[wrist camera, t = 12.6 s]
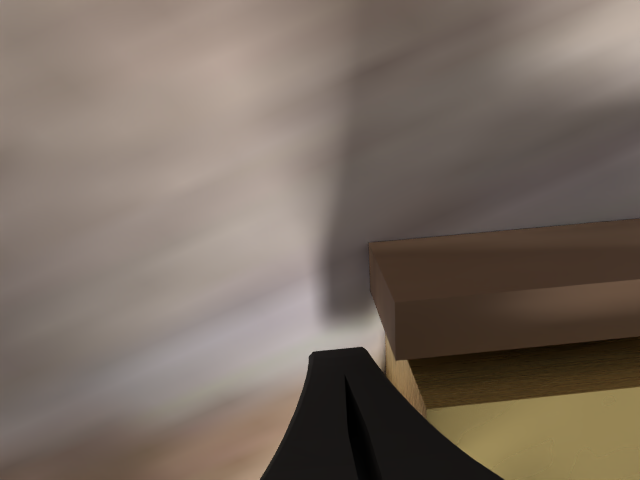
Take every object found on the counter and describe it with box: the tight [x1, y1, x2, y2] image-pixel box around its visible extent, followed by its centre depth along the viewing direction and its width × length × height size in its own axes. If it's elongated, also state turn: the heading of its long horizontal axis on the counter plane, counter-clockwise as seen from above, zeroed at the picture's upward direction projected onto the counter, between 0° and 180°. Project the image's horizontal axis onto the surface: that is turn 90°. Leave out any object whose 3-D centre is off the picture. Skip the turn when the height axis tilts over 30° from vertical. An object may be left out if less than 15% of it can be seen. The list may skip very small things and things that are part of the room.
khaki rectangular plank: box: [385, 333, 640, 480], centre depth 12 cm, size 2×6×4 cm, turn 94°
